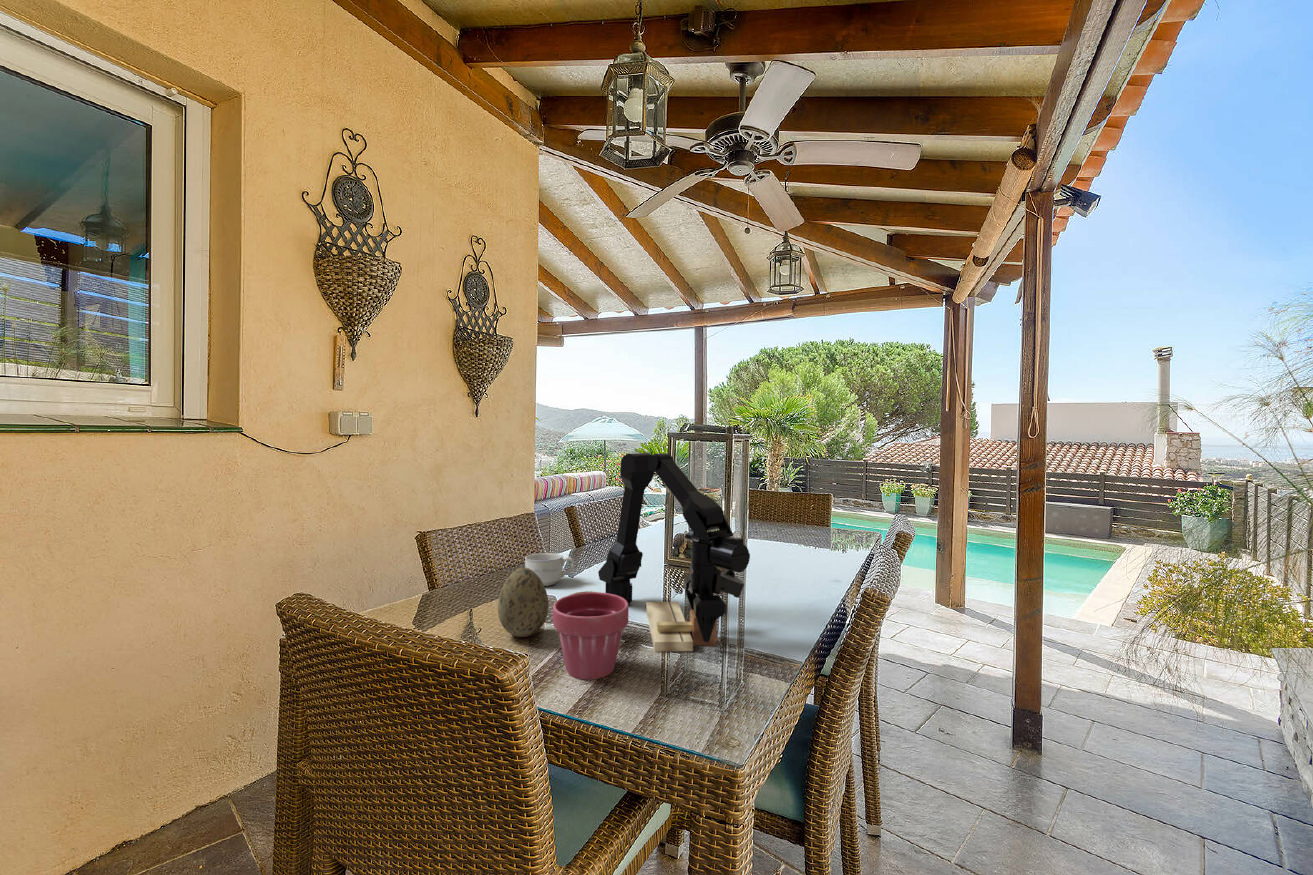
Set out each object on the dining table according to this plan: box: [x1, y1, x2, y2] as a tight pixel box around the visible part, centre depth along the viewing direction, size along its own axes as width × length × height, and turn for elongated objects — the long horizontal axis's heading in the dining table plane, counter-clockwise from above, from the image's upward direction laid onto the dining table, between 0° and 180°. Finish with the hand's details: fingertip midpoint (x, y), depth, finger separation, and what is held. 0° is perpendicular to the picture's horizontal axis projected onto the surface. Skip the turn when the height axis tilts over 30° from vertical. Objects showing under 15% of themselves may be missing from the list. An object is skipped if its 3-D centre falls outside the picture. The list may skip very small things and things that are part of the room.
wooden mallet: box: [657, 609, 718, 646], centre depth 124 cm, size 12×5×6 cm, turn 95°
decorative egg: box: [497, 566, 550, 638], centre depth 125 cm, size 11×11×15 cm
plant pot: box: [552, 591, 629, 680], centre depth 109 cm, size 14×14×13 cm
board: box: [645, 601, 694, 653], centre depth 131 cm, size 8×25×2 cm, turn 5°
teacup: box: [524, 552, 576, 587], centre depth 163 cm, size 14×11×8 cm
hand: (702, 632), depth 125 cm, fingers open, 9 cm apart
